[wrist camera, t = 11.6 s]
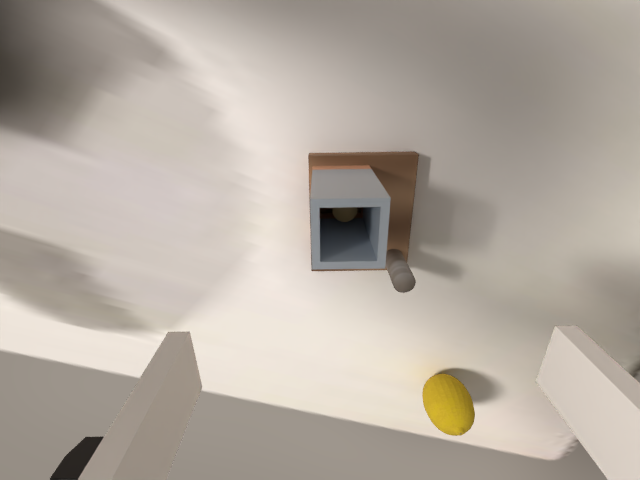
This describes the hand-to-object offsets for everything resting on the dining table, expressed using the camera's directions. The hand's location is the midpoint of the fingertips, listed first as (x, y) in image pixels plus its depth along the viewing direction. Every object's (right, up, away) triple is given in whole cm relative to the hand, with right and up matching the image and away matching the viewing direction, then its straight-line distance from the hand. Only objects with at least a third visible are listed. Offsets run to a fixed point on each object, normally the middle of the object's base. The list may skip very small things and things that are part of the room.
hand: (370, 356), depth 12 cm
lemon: (+14, -13, +31) cm, 37 cm away
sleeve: (0, +9, +19) cm, 21 cm away
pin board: (+2, +7, +22) cm, 23 cm away
